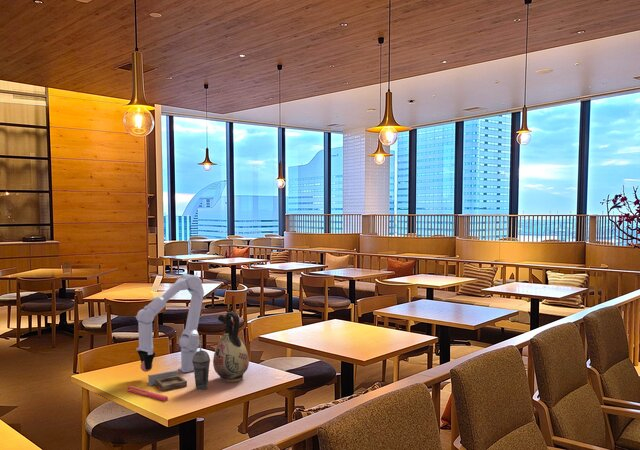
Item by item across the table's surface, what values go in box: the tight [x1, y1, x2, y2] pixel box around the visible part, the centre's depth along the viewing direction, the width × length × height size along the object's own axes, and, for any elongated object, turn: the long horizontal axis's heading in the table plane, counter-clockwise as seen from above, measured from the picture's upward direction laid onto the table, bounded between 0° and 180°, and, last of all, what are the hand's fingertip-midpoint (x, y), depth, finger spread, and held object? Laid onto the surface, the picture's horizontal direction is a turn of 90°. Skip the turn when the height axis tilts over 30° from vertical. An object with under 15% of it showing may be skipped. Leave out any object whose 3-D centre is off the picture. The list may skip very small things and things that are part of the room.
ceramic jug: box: [212, 311, 250, 383], centre depth 212 cm, size 17×15×30 cm
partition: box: [147, 369, 178, 387], centre depth 210 cm, size 12×3×4 cm, turn 124°
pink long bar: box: [126, 385, 169, 402], centre depth 195 cm, size 24×2×5 cm
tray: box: [155, 374, 188, 392], centre depth 206 cm, size 10×10×2 cm
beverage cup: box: [192, 339, 211, 391], centre depth 201 cm, size 7×7×20 cm
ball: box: [140, 361, 154, 373], centre depth 215 cm, size 5×5×5 cm
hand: (146, 367), depth 215 cm, fingers closed on ball, 5 cm apart
